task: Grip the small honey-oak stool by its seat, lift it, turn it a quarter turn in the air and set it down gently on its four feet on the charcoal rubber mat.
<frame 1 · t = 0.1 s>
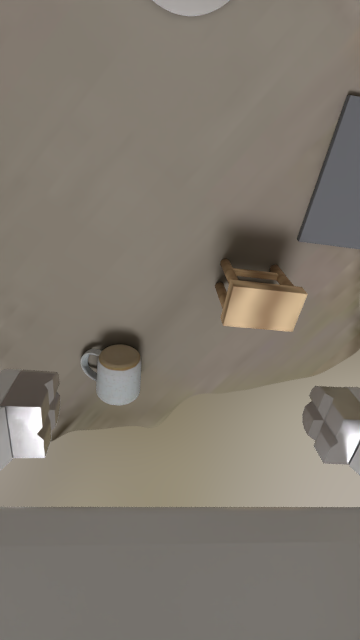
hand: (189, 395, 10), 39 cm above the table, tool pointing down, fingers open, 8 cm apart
ceramic mug: (113, 359, 59), on the table
oak stool: (246, 277, 52), on the table
charcoal mat: (359, 181, 45), on the table
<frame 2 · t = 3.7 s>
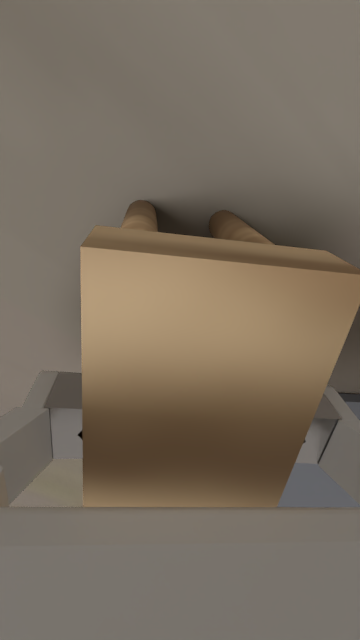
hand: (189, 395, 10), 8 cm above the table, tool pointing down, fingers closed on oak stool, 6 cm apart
oak stool: (173, 296, 18), on the table, touching gripper
when the fingers open (11 cm above the table, at t = 10.6 s): oak stool drops 2 cm, resting on charcoal mat.
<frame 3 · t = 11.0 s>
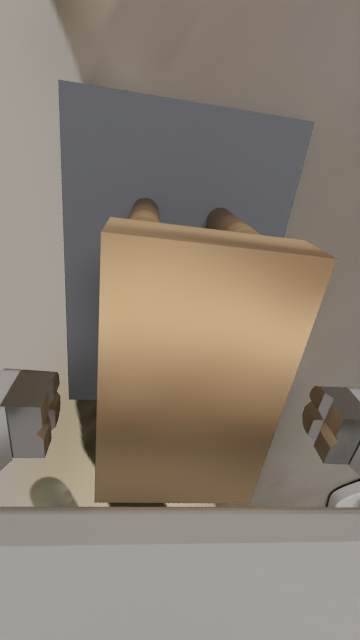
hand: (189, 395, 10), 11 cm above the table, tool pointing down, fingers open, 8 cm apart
oak stool: (173, 286, 19), point 1 cm above the table, touching charcoal mat
charcoal mat: (170, 279, 20), on the table
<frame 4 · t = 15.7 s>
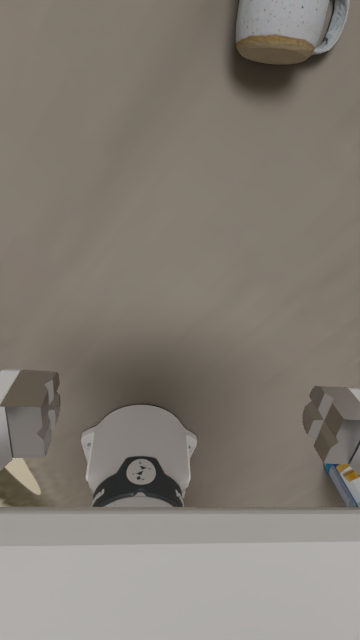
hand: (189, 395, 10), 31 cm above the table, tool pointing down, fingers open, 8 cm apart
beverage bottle: (344, 457, 60), on the table
ceramic mug: (283, 12, 31), on the table
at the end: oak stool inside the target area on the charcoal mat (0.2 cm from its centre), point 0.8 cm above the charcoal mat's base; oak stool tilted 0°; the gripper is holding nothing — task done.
